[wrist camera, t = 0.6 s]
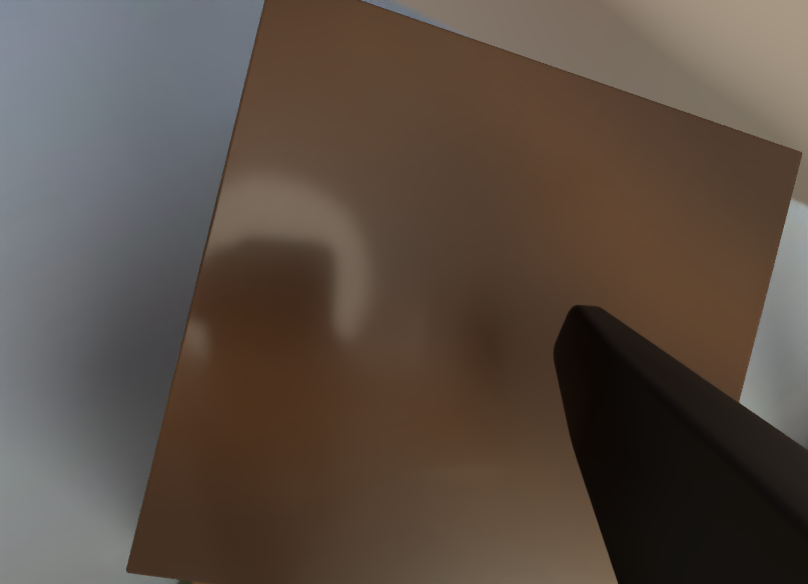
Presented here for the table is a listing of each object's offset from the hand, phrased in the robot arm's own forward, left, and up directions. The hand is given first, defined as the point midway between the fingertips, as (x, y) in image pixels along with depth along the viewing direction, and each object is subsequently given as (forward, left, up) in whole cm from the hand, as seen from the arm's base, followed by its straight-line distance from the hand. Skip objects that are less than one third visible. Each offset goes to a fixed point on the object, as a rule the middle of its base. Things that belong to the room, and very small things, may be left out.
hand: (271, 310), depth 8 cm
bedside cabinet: (-3, -4, -16) cm, 16 cm away
